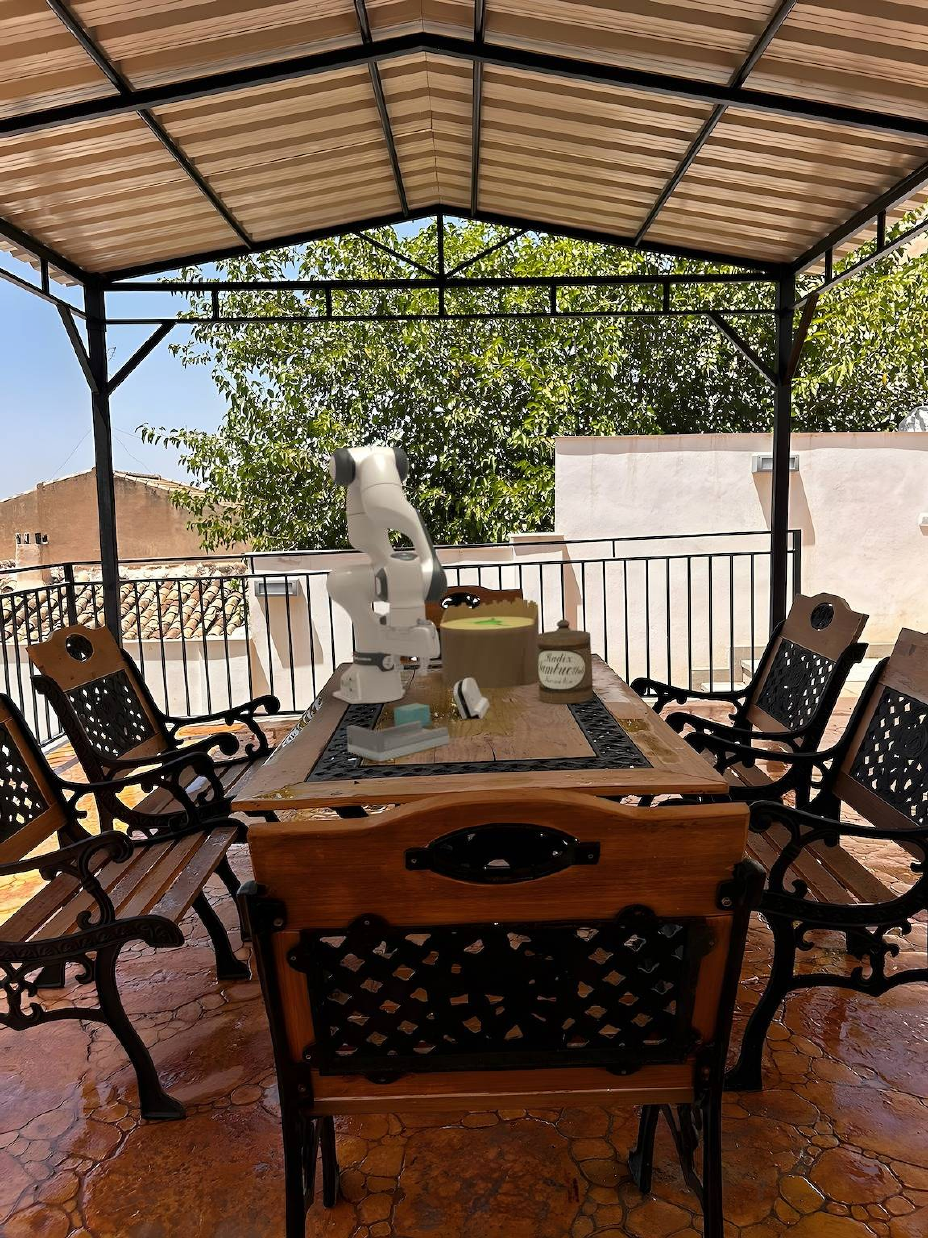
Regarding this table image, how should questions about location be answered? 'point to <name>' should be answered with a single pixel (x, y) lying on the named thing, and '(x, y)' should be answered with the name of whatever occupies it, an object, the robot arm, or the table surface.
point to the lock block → (412, 714)
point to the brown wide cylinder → (491, 644)
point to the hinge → (470, 698)
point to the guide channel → (394, 740)
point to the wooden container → (565, 665)
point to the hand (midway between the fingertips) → (410, 673)
